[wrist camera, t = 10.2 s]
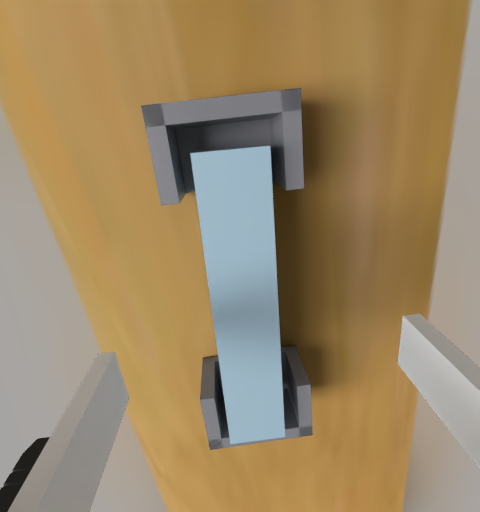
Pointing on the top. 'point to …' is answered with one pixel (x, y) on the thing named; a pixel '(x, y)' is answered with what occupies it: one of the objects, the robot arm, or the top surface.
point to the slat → (243, 285)
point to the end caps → (182, 181)
